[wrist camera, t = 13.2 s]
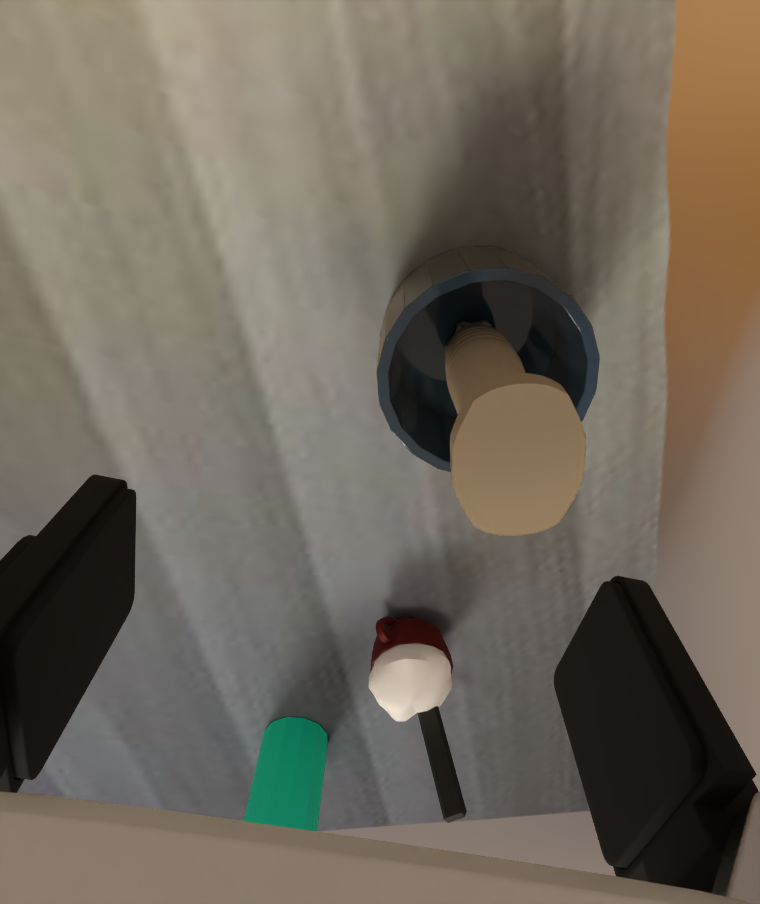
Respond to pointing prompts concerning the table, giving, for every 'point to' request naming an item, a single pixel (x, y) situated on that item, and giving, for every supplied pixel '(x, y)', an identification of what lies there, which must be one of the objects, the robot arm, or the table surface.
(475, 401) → the handle
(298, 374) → the table surface
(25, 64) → the table surface
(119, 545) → the robot arm
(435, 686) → the cocoa
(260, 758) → the candle
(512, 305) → the crock
